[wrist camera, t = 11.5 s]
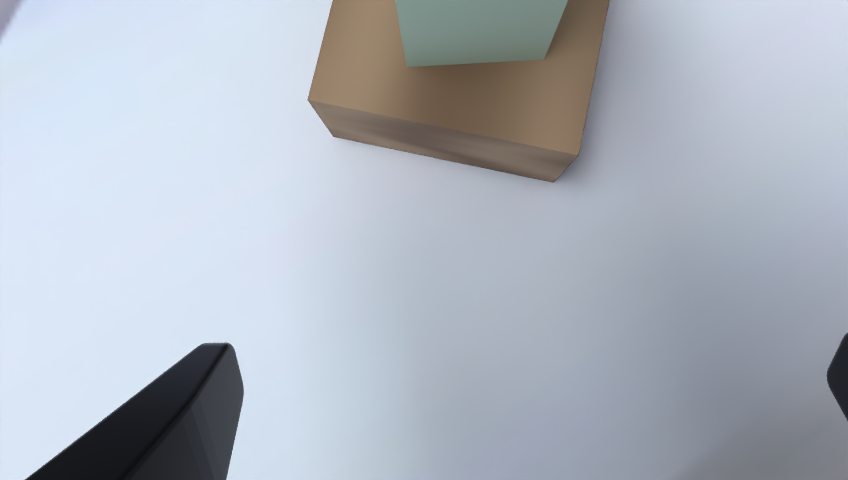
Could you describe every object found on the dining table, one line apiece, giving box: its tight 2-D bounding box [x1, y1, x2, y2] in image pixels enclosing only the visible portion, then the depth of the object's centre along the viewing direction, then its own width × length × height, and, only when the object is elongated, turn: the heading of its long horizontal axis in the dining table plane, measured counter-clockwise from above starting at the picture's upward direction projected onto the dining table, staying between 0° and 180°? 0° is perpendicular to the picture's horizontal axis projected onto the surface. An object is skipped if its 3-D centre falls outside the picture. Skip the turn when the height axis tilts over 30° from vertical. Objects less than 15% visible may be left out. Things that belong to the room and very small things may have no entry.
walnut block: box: [308, 0, 609, 182], centre depth 20 cm, size 9×9×4 cm
